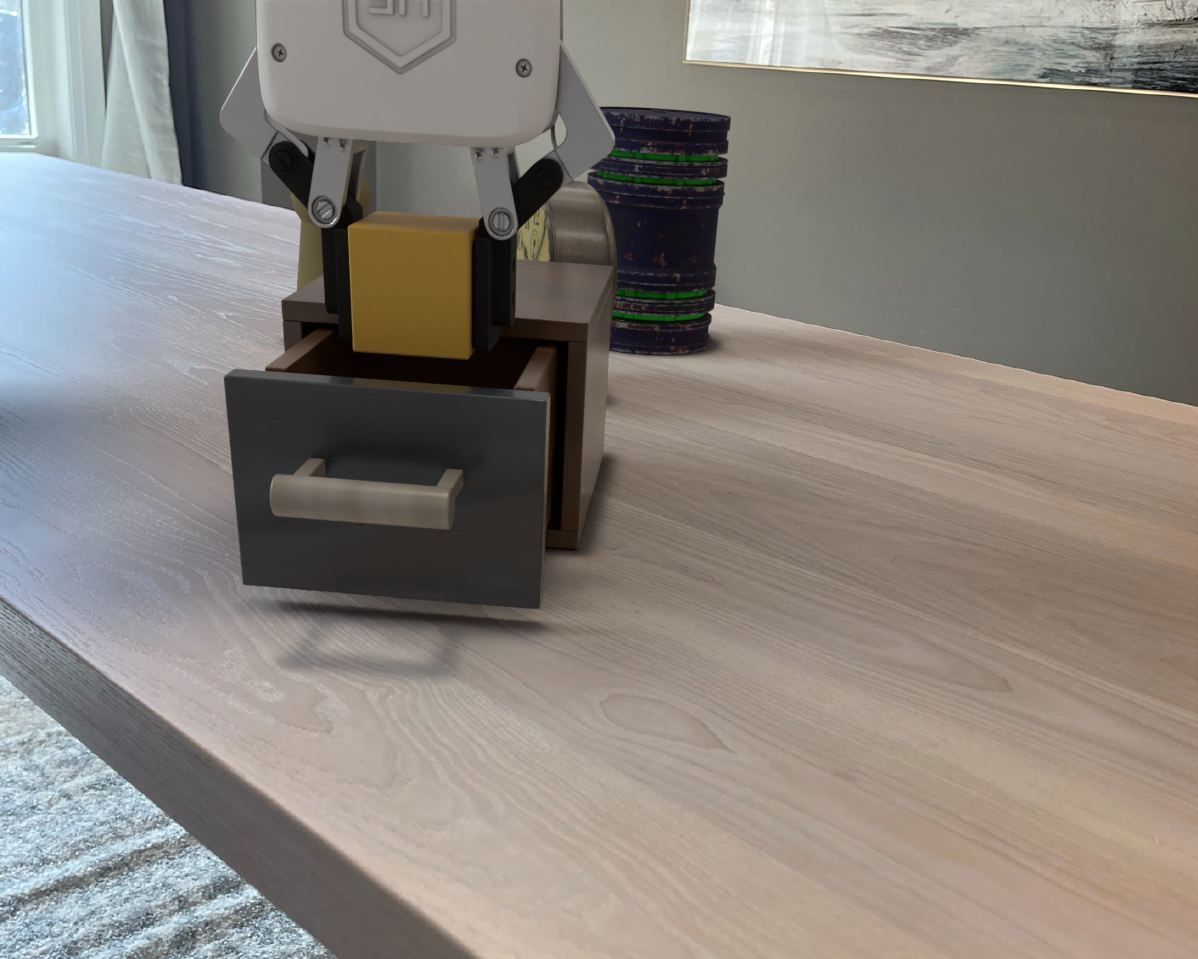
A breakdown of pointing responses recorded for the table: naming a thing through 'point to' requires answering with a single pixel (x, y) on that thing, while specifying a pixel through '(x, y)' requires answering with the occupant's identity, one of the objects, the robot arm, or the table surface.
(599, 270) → the cabinet
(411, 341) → the block
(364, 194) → the cork
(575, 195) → the alarm clock
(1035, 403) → the table surface
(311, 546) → the drawer
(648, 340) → the storage jar
